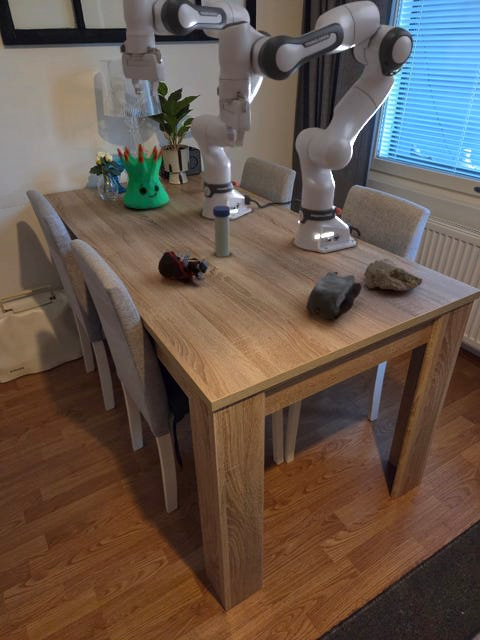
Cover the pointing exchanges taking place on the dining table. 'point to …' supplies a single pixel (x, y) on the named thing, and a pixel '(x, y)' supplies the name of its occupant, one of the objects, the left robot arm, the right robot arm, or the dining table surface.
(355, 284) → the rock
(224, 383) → the dining table surface
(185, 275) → the toy
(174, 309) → the dining table surface
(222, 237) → the pale green cylinder
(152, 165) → the toy
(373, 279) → the artifact
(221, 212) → the lid
